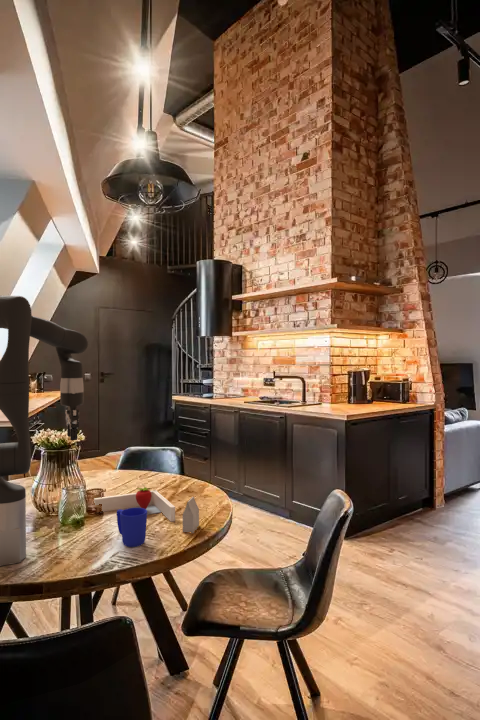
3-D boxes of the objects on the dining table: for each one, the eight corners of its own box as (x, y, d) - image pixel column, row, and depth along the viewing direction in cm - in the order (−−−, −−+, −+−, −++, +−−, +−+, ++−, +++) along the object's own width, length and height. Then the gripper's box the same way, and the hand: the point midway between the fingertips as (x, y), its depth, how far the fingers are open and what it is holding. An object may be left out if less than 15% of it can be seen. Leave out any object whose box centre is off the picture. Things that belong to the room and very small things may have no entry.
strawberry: (133, 513, 172) (133, 486, 172) (138, 507, 180) (137, 481, 180) (149, 513, 173) (149, 486, 172) (153, 507, 180) (153, 481, 180)
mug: (128, 534, 153) (128, 503, 153) (152, 543, 145) (152, 510, 145) (107, 541, 147) (107, 509, 147) (131, 551, 139) (131, 518, 139)
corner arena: (175, 520, 165) (175, 506, 165) (106, 532, 155) (106, 517, 155) (156, 502, 187) (156, 489, 187) (94, 511, 176) (93, 498, 176)
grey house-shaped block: (199, 526, 160) (198, 496, 160) (193, 533, 154) (193, 502, 154) (188, 525, 161) (188, 496, 161) (182, 532, 154) (182, 502, 154)
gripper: (58, 390, 166) (58, 436, 166) (62, 392, 153) (63, 442, 153) (80, 389, 169) (80, 434, 169) (86, 392, 157) (86, 440, 157)
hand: (72, 438), depth 161 cm, fingers open, 8 cm apart
